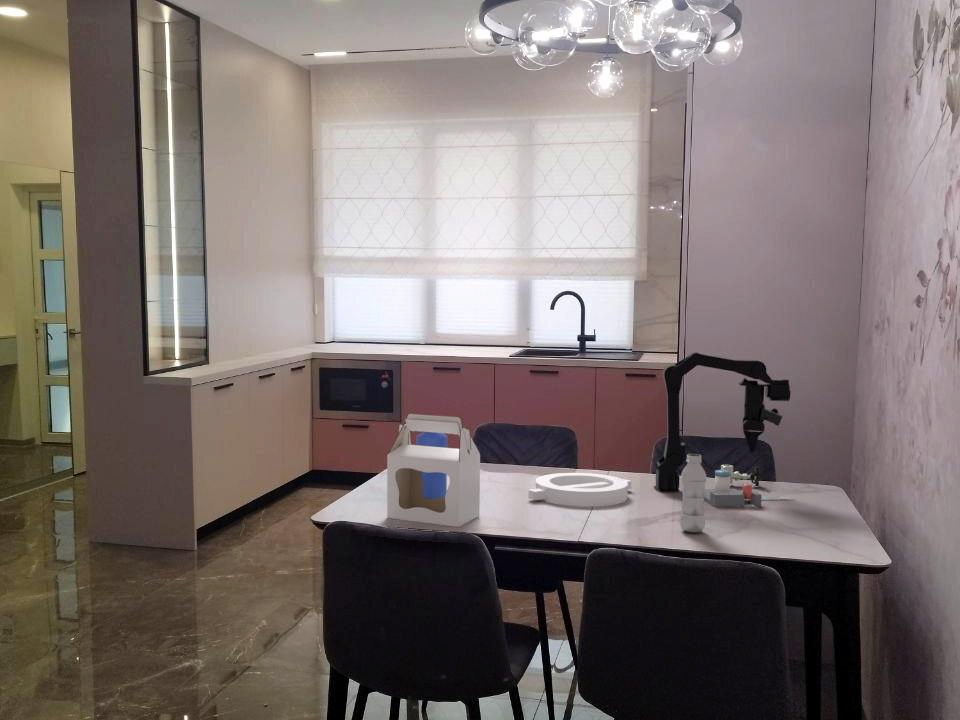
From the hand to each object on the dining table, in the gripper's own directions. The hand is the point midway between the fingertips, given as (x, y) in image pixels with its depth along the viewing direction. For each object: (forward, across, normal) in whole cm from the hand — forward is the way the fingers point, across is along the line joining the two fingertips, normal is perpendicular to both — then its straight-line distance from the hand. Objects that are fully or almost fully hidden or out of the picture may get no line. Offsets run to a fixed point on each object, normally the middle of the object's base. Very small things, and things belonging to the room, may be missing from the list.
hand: (752, 449), depth 264 cm
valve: (+14, +10, +3) cm, 18 cm away
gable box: (+15, -61, +83) cm, 105 cm away
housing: (+14, -12, +7) cm, 19 cm away
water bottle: (+15, -42, +91) cm, 101 cm away
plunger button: (+12, -17, +1) cm, 21 cm away
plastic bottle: (+14, -54, +15) cm, 58 cm away
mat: (+14, -3, -6) cm, 15 cm away
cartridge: (+14, -9, +8) cm, 18 cm away
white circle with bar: (+15, -22, +50) cm, 56 cm away
